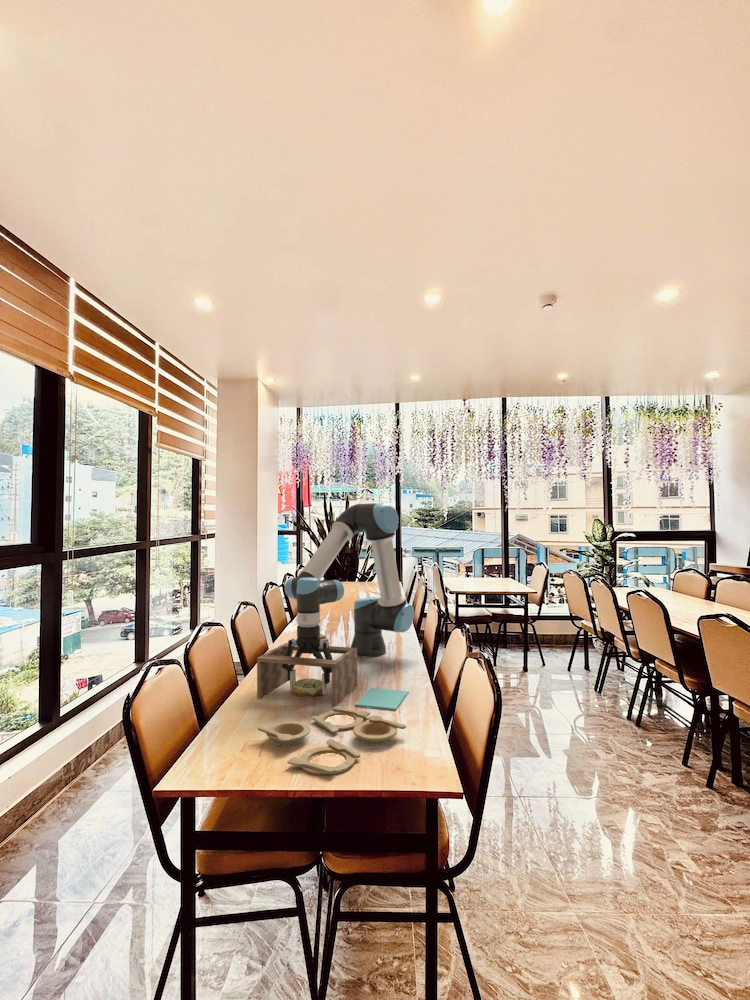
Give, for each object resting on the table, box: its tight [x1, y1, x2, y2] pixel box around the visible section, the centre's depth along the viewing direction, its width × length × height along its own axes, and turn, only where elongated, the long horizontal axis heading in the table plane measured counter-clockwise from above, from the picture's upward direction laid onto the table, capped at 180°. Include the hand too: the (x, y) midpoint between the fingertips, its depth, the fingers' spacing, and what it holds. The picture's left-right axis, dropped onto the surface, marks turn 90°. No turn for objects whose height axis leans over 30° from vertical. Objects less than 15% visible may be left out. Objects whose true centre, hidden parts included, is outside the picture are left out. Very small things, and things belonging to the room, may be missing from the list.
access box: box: [256, 642, 358, 707], centre depth 173 cm, size 20×27×13 cm
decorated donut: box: [292, 678, 322, 698], centre depth 173 cm, size 10×11×4 cm
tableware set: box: [256, 706, 407, 776], centre depth 136 cm, size 35×29×4 cm
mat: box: [354, 687, 409, 711], centre depth 165 cm, size 16×13×1 cm
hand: (308, 691), depth 173 cm, fingers open, 11 cm apart
